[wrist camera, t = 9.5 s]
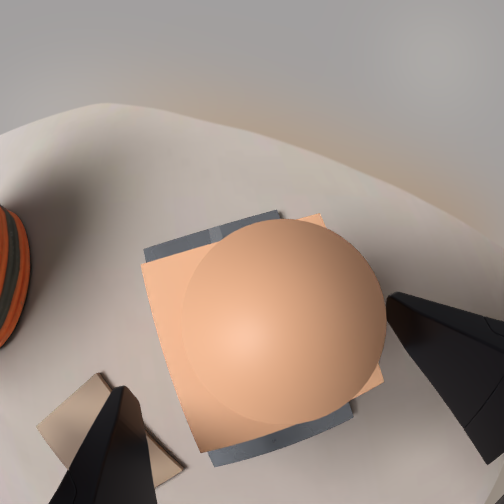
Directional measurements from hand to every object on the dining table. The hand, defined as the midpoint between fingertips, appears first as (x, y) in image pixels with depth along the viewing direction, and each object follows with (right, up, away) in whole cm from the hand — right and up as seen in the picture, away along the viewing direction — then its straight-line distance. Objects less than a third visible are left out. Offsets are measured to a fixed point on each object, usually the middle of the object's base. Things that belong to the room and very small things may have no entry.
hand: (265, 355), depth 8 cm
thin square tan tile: (-11, -11, +6) cm, 17 cm away
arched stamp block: (-1, -2, +9) cm, 10 cm away
